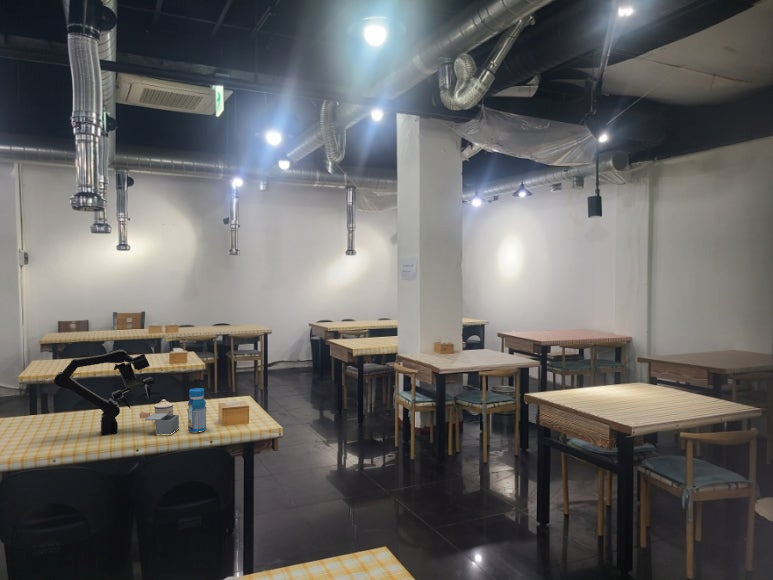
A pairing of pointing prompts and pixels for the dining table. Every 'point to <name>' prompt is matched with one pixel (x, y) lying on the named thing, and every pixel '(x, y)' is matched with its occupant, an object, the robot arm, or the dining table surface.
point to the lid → (152, 416)
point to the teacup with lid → (164, 408)
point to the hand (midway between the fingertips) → (140, 404)
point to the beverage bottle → (196, 410)
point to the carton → (167, 424)
